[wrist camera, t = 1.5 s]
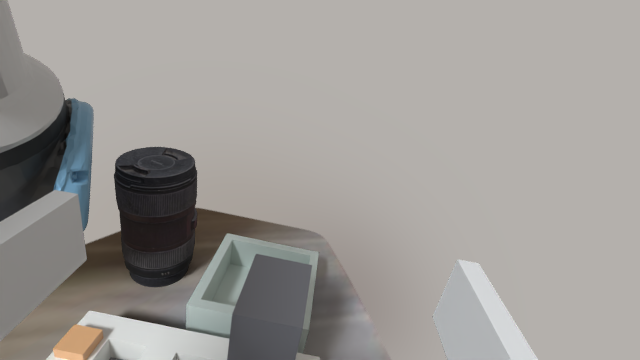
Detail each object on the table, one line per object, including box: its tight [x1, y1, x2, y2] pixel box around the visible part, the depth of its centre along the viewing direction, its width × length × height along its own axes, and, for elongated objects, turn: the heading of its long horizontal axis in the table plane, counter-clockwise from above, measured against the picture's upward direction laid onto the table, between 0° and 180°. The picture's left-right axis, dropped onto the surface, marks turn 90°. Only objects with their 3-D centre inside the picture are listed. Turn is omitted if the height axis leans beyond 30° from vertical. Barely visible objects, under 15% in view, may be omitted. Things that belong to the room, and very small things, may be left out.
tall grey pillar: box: [227, 254, 312, 360], centre depth 27 cm, size 4×6×13 cm
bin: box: [186, 233, 319, 354], centre depth 39 cm, size 12×12×5 cm
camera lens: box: [114, 147, 197, 287], centre depth 39 cm, size 8×8×15 cm
